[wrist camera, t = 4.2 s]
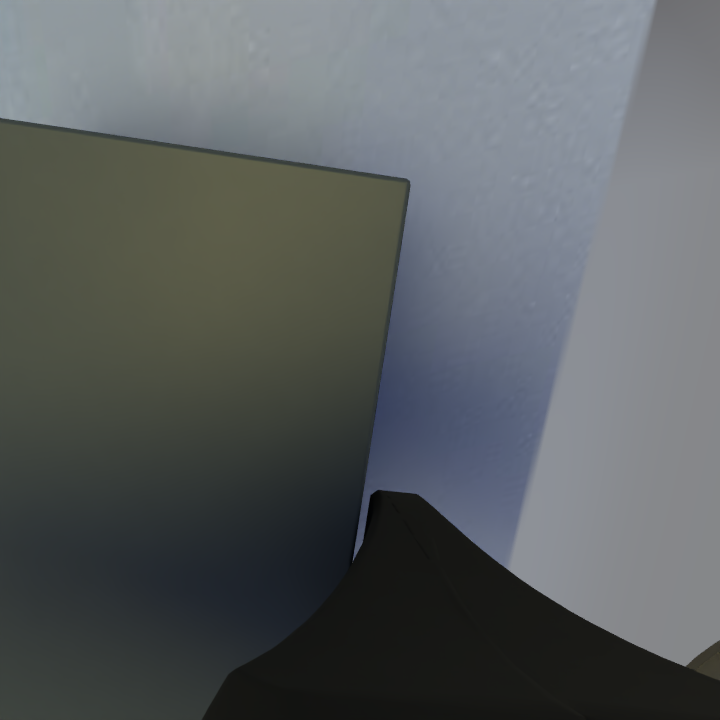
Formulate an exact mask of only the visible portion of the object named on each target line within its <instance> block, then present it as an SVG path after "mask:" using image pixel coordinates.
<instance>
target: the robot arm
mask: <svg viewBox="0 0 720 720" xmlns="http://www.w3.org/2000/svg"><path fill="white" fill-rule="evenodd" d="M202 720H720V680H717V679H714V678H712V677H709V676H707V675H704V674H702V673H699V672H697V671H694V670H692V669H689V668H687V667H684V666H682V665H680V664H677V663H675V662H672V661H670V660H667V659H665V658H662V657H660V656H658V655H656V654H654V653H651V652H649V651H647V650H645V649H643V648H640V647H638V646H636V645H634V644H632V643H630V642H628V641H626V640H624V639H622V638H620V637H618V636H616V635H614V634H612V633H610V632H608V631H606V630H604V629H602V628H600V627H598V626H596V625H594V624H592V623H590V622H589V621H587V620H585V619H583V618H581V617H579V616H578V615H576V614H574V613H572V612H571V611H569V610H567V609H566V608H564V607H563V606H561V605H559V604H558V603H556V602H555V601H553V600H551V599H550V598H548V597H546V596H545V595H543V594H542V593H540V592H538V591H537V590H535V589H534V588H532V587H531V586H529V585H528V584H527V583H525V582H523V581H522V580H521V579H519V578H518V577H516V576H515V575H514V574H513V573H511V572H510V571H509V570H507V569H506V568H505V567H503V566H502V565H501V564H499V563H498V562H497V561H495V560H494V559H493V558H491V557H490V556H489V555H488V554H487V553H485V552H484V551H483V550H482V549H480V548H479V547H478V546H477V545H476V544H474V543H473V542H472V541H471V540H470V539H469V538H467V537H466V536H465V535H464V534H463V533H462V532H460V531H459V530H458V529H457V528H456V527H455V526H454V525H453V524H451V523H450V522H449V521H448V520H447V519H446V518H445V517H444V516H443V515H441V514H440V513H439V512H438V511H437V510H436V509H435V508H434V507H432V506H431V505H430V504H429V503H428V502H427V501H425V500H424V499H423V498H422V497H420V496H419V495H417V494H411V493H402V492H392V491H383V490H377V491H376V492H375V493H373V494H372V495H371V496H370V502H369V508H368V514H367V521H366V527H365V533H364V539H363V543H362V545H361V547H360V549H359V551H358V553H357V555H356V557H355V559H354V561H353V563H352V564H351V566H350V568H349V569H348V571H347V573H346V574H345V576H344V577H343V579H342V580H341V581H340V583H339V584H338V585H337V587H336V588H335V590H334V591H333V592H332V593H331V595H330V596H329V597H328V598H327V599H326V600H325V601H324V603H323V604H322V605H321V606H320V607H319V608H318V609H317V611H316V612H315V613H314V614H313V615H312V616H311V617H310V618H309V619H308V620H307V621H305V622H304V623H303V624H302V625H301V626H300V627H298V628H297V629H296V630H295V631H294V632H292V633H291V634H290V635H289V636H287V637H286V638H285V639H284V640H283V641H281V642H280V643H279V644H278V645H276V646H275V647H274V648H272V649H271V650H269V651H267V652H265V653H264V654H262V655H260V656H258V657H257V658H255V659H253V660H251V661H250V662H248V663H246V664H244V665H242V666H240V667H238V668H236V669H235V670H233V671H232V672H230V673H229V674H228V676H227V677H226V679H225V680H224V682H223V684H222V685H221V687H220V689H219V690H218V692H217V694H216V696H215V697H214V699H213V701H212V702H211V704H210V706H209V708H208V709H207V711H206V713H205V715H204V717H203V718H202Z"/></svg>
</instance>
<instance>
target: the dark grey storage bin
mask: <svg viewBox="0 0 720 720" xmlns="http://www.w3.org/2000/svg"><path fill="white" fill-rule="evenodd" d="M410 186H411V185H410V181H409V180H407V179H404V178H398V177H391V176H384V175H378V174H371V173H364V172H358V171H351V170H344V169H337V168H331V167H324V166H317V165H311V164H304V163H297V162H291V161H284V160H277V159H271V158H264V157H257V156H251V155H244V154H237V153H230V152H224V151H217V150H210V149H204V148H197V147H190V146H184V145H177V144H170V143H164V142H157V141H150V140H144V139H137V138H130V137H123V136H117V135H110V134H103V133H97V132H90V131H83V130H77V129H70V128H63V127H57V126H50V125H43V124H37V123H30V122H23V121H16V120H10V119H3V118H0V720H202V718H203V717H204V715H205V713H206V711H207V709H208V708H209V706H210V704H211V702H212V701H213V699H214V697H215V696H216V694H217V692H218V690H219V689H220V687H221V685H222V684H223V682H224V680H225V679H226V677H227V676H228V674H229V673H230V672H232V671H233V670H235V669H236V668H238V667H240V666H242V665H244V664H246V663H248V662H250V661H251V660H253V659H255V658H257V657H258V656H260V655H262V654H264V653H265V652H267V651H269V650H271V649H272V648H274V647H275V646H276V645H278V644H279V643H280V642H281V641H283V640H284V639H285V638H286V637H287V636H289V635H290V634H291V633H292V632H294V631H295V630H296V629H297V628H298V627H300V626H301V625H302V624H303V623H304V622H305V621H307V620H308V619H309V618H310V617H311V616H312V615H313V614H314V613H315V612H316V611H317V609H318V608H319V607H320V606H321V605H322V604H323V603H324V601H325V600H326V599H327V598H328V597H329V596H330V595H331V593H332V592H333V591H334V590H335V588H336V587H337V585H338V584H339V583H340V581H341V580H342V579H343V577H344V576H345V574H346V573H347V571H348V569H349V568H350V566H351V564H352V562H353V555H354V549H355V542H356V536H357V529H358V523H359V516H360V510H361V503H362V497H363V490H364V484H365V477H366V471H367V464H368V458H369V451H370V445H371V438H372V432H373V425H374V419H375V412H376V406H377V399H378V393H379V387H380V380H381V374H382V367H383V361H384V354H385V348H386V341H387V335H388V328H389V322H390V315H391V309H392V302H393V296H394V289H395V283H396V276H397V270H398V263H399V257H400V250H401V244H402V237H403V231H404V224H405V218H406V211H407V205H408V198H409V192H410Z"/></svg>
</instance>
